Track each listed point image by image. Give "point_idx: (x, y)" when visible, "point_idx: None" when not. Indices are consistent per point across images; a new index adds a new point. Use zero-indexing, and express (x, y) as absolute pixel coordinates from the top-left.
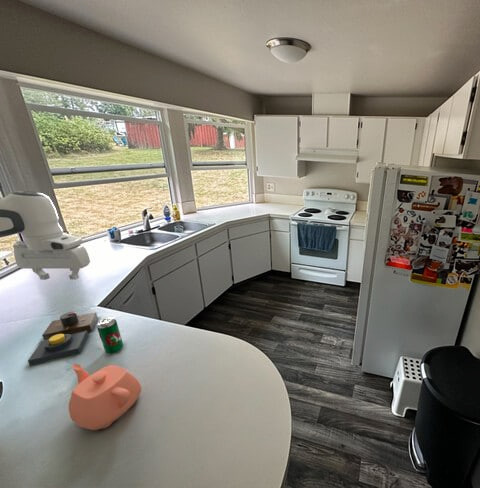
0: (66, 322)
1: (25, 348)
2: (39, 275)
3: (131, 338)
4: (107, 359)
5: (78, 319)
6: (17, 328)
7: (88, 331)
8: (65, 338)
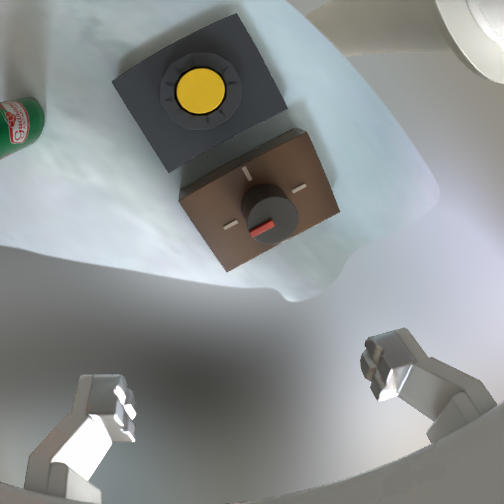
0: (259, 190)
1: (329, 97)
2: (422, 360)
3: (21, 176)
4: (17, 82)
5: None
6: (421, 194)
7: (188, 186)
8: (195, 114)
